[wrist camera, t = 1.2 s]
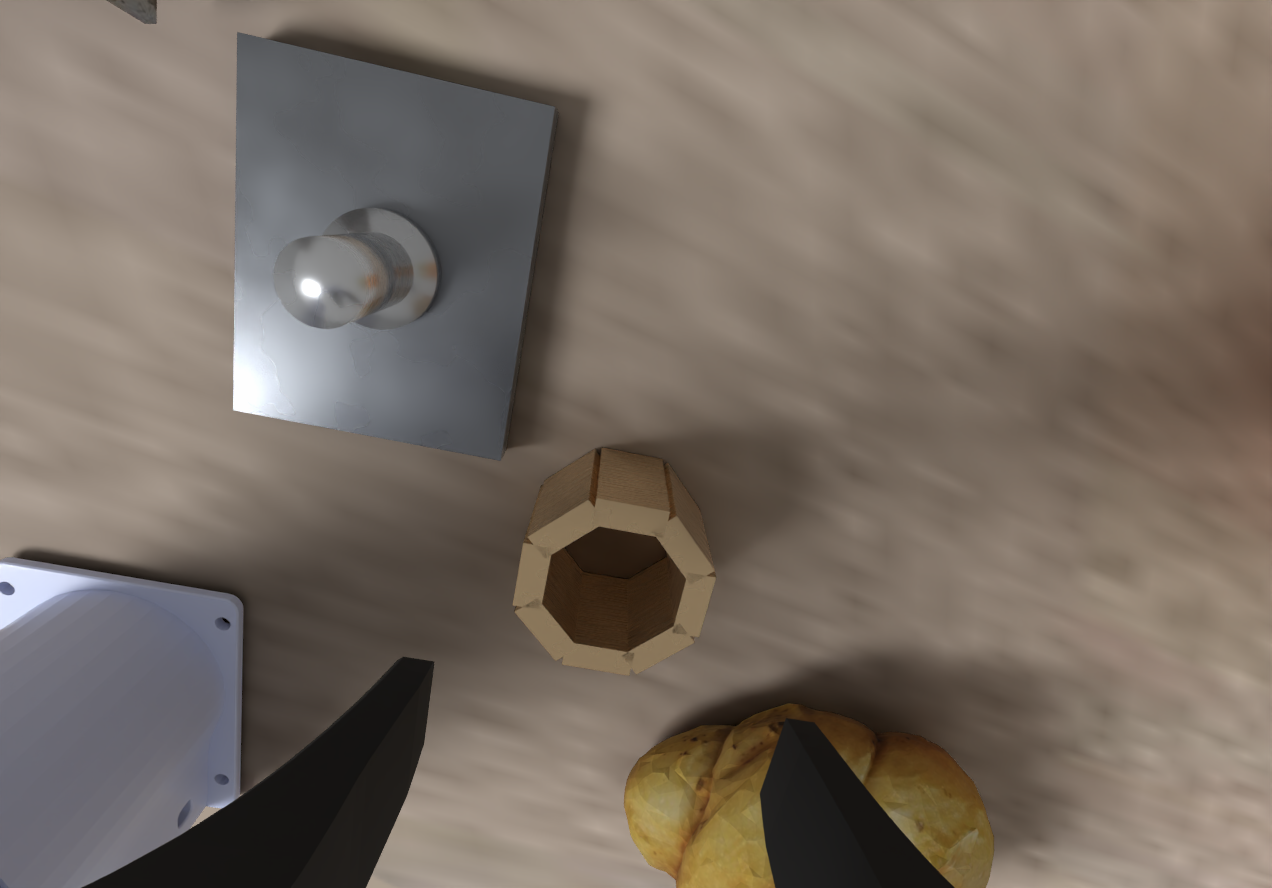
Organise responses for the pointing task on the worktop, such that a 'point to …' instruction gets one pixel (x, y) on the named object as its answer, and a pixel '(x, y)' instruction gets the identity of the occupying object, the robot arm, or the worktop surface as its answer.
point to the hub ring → (608, 606)
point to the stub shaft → (383, 247)
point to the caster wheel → (138, 9)
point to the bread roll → (731, 808)
